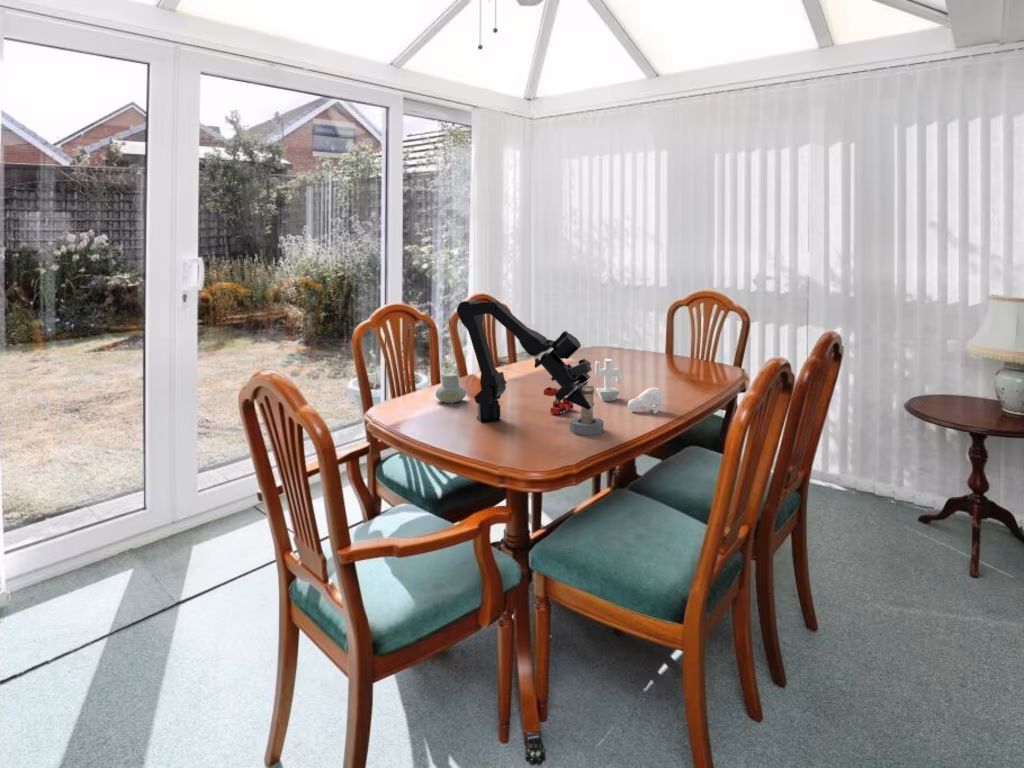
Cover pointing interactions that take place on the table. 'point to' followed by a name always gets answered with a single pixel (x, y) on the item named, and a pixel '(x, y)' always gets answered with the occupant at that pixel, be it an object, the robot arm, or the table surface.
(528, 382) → the table surface
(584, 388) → the birch peg
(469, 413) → the table surface
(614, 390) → the figurine
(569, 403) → the toy fire truck
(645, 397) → the white animal statue
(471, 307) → the robot arm
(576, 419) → the grey ring
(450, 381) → the air freshener
